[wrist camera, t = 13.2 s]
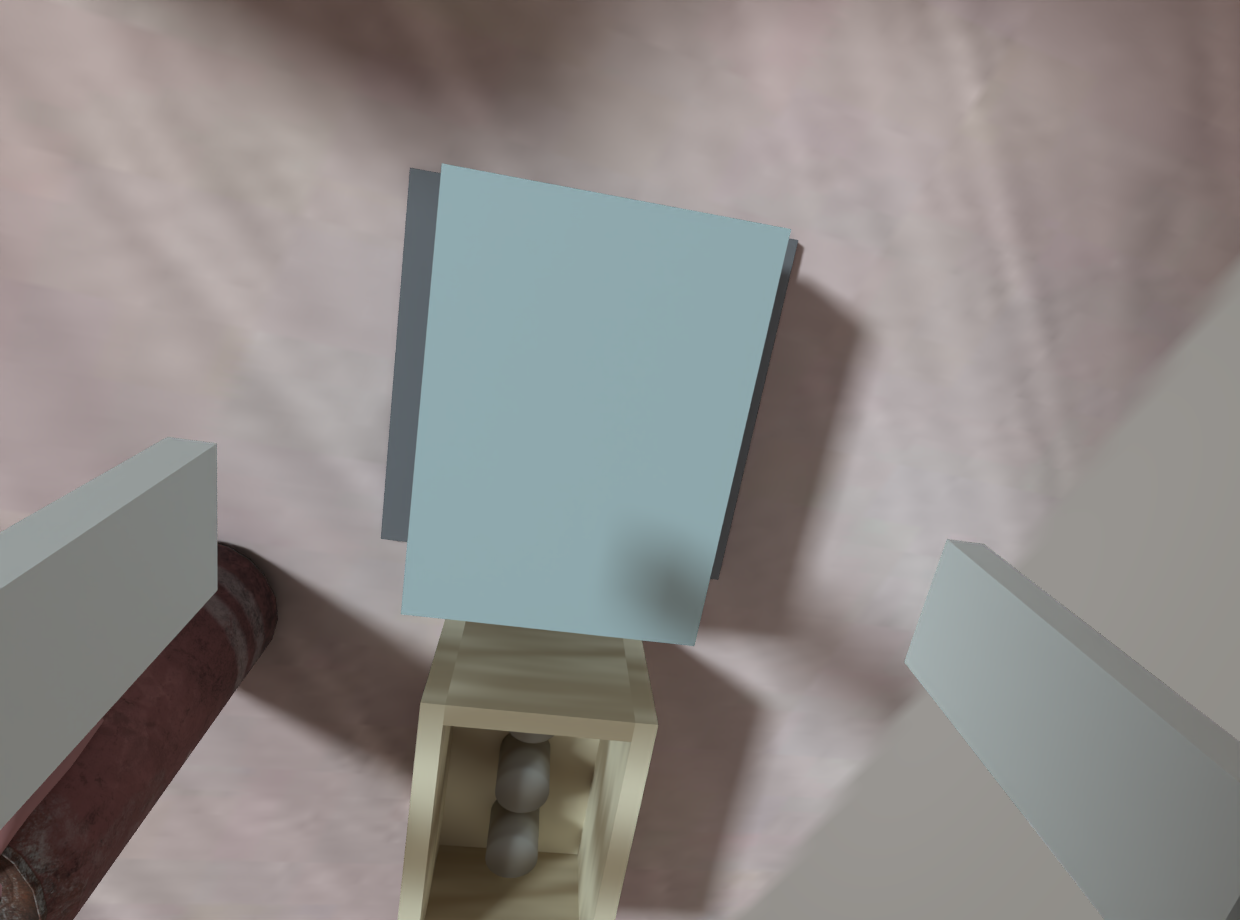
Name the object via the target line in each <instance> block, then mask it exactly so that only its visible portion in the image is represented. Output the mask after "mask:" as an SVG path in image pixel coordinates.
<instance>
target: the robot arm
mask: <svg viewBox="0 0 1240 920" xmlns="http://www.w3.org/2000/svg"><path fill="white" fill-rule="evenodd" d="M217 590H218V587H217V443H210V442H202V441H194V440H187V439H179V438H171V437H167V438H165V439H163V440H161V441H159V442H158V443H156V444H154V445H152V446H151V447H149V448H147V449H145V450H144V451H142V452H140V453H138V454H137V455H135V456H133V457H131V458H130V459H128V460H126V461H124V462H123V463H121V464H119V465H117V466H116V467H114V468H112V469H110V470H109V471H107V472H105V473H103V474H102V475H100V476H98V477H96V478H95V479H93V480H91V481H89V482H88V483H86V484H84V485H82V486H81V487H79V488H77V489H75V490H74V491H72V492H70V493H68V494H67V495H65V496H63V497H61V498H60V499H58V500H56V501H54V502H53V503H51V504H49V505H47V506H46V507H44V508H42V509H40V510H39V511H37V512H35V513H33V514H32V515H30V516H28V517H26V518H24V519H23V520H21V521H19V522H17V523H16V524H14V525H12V526H10V527H9V528H7V529H5V530H3V531H2V532H0V830H1V829H2V828H3V827H4V825H5V824H6V823H7V822H8V821H9V820H10V819H11V818H12V817H13V815H14V814H15V813H16V812H17V811H18V810H19V809H20V808H21V807H22V806H23V804H24V803H25V802H26V801H27V800H28V799H29V798H30V797H31V796H32V794H33V793H34V792H35V791H36V790H37V789H38V788H39V787H40V786H41V785H42V783H43V782H44V781H45V780H46V779H47V778H48V777H49V776H50V775H51V773H52V772H53V771H54V770H55V769H56V768H57V767H58V766H59V765H60V764H61V762H62V761H63V760H64V759H65V758H66V757H67V756H68V755H69V754H70V752H71V751H72V750H73V749H74V748H75V747H76V746H77V745H78V744H79V743H80V741H81V740H82V739H83V738H84V737H85V736H86V735H87V734H88V733H89V732H90V730H91V729H92V728H93V727H94V726H95V725H96V724H97V723H98V722H99V720H100V719H101V718H102V717H103V716H104V715H105V714H106V713H107V712H108V711H109V709H110V708H111V707H112V706H113V705H114V704H115V703H116V702H117V701H118V699H119V698H120V697H121V696H122V695H123V694H124V693H125V692H126V691H127V690H128V688H129V687H130V686H131V685H132V684H133V683H134V682H135V681H136V680H137V678H138V677H139V676H140V675H141V674H142V673H143V672H144V671H145V670H146V669H147V667H148V666H149V665H150V664H151V663H152V662H153V661H154V660H155V659H156V657H157V656H158V655H159V654H160V653H161V652H162V651H163V650H164V649H165V648H166V646H167V645H168V644H169V643H170V642H171V641H172V640H173V639H174V638H175V636H176V635H177V634H178V633H179V632H180V631H181V630H182V629H183V628H184V627H185V625H186V624H187V623H188V622H189V621H190V620H191V619H192V618H193V617H194V615H195V614H196V613H197V612H198V611H199V610H200V609H201V608H202V607H203V606H204V604H205V603H206V602H207V601H208V600H209V599H210V598H211V597H212V596H213V594H214V593H215V592H216V591H217ZM904 662H905V664H906V665H907V666H908V668H909V669H910V670H911V671H912V673H913V674H914V675H915V677H916V678H917V679H918V680H919V682H920V683H921V684H922V686H923V687H924V688H925V689H926V691H927V692H928V693H929V695H930V696H931V697H932V699H933V700H934V701H935V702H936V704H937V705H938V706H939V708H940V709H941V710H942V711H943V713H944V714H945V715H946V717H947V718H948V719H949V720H950V722H951V723H952V724H953V725H954V727H955V728H956V729H957V731H958V732H959V733H960V735H961V736H962V737H963V738H964V740H965V741H966V742H967V744H968V745H969V746H970V747H971V749H972V750H973V751H974V753H975V754H976V755H977V756H978V758H979V759H980V760H981V762H982V763H983V764H984V766H985V767H986V768H987V769H988V771H989V772H990V773H991V775H992V776H993V777H994V778H995V780H996V781H997V782H998V783H999V785H1000V786H1001V787H1002V789H1003V790H1004V791H1005V793H1006V794H1007V795H1008V796H1009V798H1010V799H1011V800H1012V802H1013V803H1014V804H1015V806H1016V807H1017V808H1018V809H1019V811H1020V812H1021V813H1022V814H1023V816H1024V817H1025V818H1026V820H1027V821H1028V822H1029V823H1030V825H1031V826H1032V827H1033V829H1034V830H1035V831H1036V833H1037V834H1038V835H1039V836H1040V838H1041V839H1042V840H1043V841H1044V843H1045V844H1046V845H1047V847H1048V848H1049V849H1050V851H1051V852H1052V853H1053V854H1054V856H1055V857H1056V858H1057V860H1058V861H1059V862H1060V864H1061V865H1062V866H1063V867H1064V869H1065V870H1066V871H1067V872H1068V874H1069V875H1070V876H1071V878H1072V879H1073V880H1074V882H1075V883H1076V884H1077V885H1078V887H1079V888H1080V889H1081V891H1082V892H1083V893H1084V894H1085V896H1086V897H1087V898H1088V899H1089V901H1090V902H1091V903H1092V905H1093V906H1094V907H1095V908H1096V910H1097V911H1098V912H1099V914H1100V915H1101V916H1102V918H1103V919H1104V920H1240V741H1238V740H1237V739H1235V738H1234V737H1233V736H1232V735H1231V734H1229V733H1228V732H1227V731H1225V730H1224V729H1223V728H1221V727H1220V726H1219V725H1218V724H1216V723H1215V722H1214V721H1212V720H1211V719H1210V718H1209V717H1207V716H1206V715H1205V714H1203V713H1202V712H1201V711H1199V710H1198V709H1196V707H1194V706H1193V705H1192V704H1190V703H1189V702H1188V701H1186V700H1185V699H1184V698H1183V697H1181V696H1180V695H1178V694H1177V693H1176V692H1175V691H1173V690H1172V689H1171V688H1170V687H1168V686H1167V685H1166V684H1164V683H1163V682H1162V681H1161V680H1159V679H1158V678H1157V677H1155V676H1154V675H1153V674H1152V673H1150V672H1149V671H1148V670H1146V669H1145V668H1144V667H1142V666H1141V665H1140V664H1139V663H1137V662H1136V661H1135V660H1133V659H1132V658H1131V657H1129V656H1128V655H1127V654H1125V653H1124V652H1123V651H1122V650H1120V649H1119V648H1118V647H1117V646H1115V645H1114V644H1113V643H1111V642H1110V641H1109V640H1107V639H1106V638H1105V637H1104V636H1102V635H1101V634H1099V633H1098V632H1097V631H1096V630H1095V629H1093V628H1092V627H1091V626H1089V625H1088V624H1087V623H1085V622H1084V621H1083V620H1081V619H1080V618H1079V617H1078V616H1076V615H1075V614H1074V613H1073V612H1071V611H1070V610H1069V609H1067V608H1066V607H1064V606H1063V605H1062V604H1061V603H1060V602H1058V601H1057V600H1056V599H1054V598H1053V597H1052V596H1050V595H1049V594H1048V593H1047V592H1045V591H1044V590H1042V589H1041V588H1040V587H1039V586H1037V585H1036V584H1035V583H1034V582H1032V581H1031V580H1030V579H1028V578H1027V577H1026V576H1025V575H1023V574H1022V573H1021V572H1019V571H1018V570H1017V569H1016V568H1014V567H1013V566H1012V565H1010V564H1009V563H1008V562H1006V561H1005V560H1004V559H1003V558H1001V557H1000V556H999V555H997V554H996V553H995V552H993V551H992V550H991V549H990V548H988V547H987V546H986V545H984V544H980V543H972V542H964V541H957V540H949V539H947V541H946V544H945V547H944V549H943V552H942V555H941V558H940V561H939V564H938V567H937V570H936V572H935V575H934V578H933V581H932V584H931V587H930V590H929V592H928V595H927V598H926V601H925V604H924V607H923V610H922V613H921V615H920V618H919V621H918V624H917V627H916V630H915V633H914V636H913V638H912V641H911V644H910V647H909V650H908V653H907V656H906V659H905V661H904Z"/></svg>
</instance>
